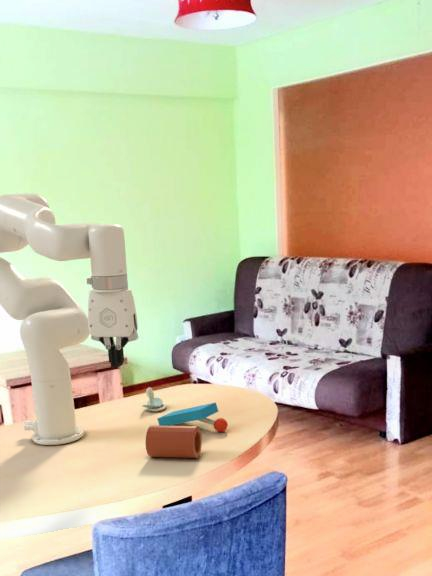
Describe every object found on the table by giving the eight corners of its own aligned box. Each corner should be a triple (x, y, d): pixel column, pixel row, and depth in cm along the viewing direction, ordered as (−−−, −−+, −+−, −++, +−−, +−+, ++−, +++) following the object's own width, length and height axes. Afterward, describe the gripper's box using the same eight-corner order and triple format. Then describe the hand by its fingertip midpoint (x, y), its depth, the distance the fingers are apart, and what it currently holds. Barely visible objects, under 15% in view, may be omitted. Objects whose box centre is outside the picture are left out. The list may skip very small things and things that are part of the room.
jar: (144, 431, 162) (192, 432, 159) (154, 421, 168) (200, 422, 166) (146, 460, 164) (194, 462, 161) (156, 450, 170) (202, 451, 168)
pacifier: (170, 406, 207) (150, 405, 209) (169, 384, 205) (149, 383, 207) (160, 413, 200) (140, 412, 202) (159, 391, 198) (138, 390, 200)
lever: (165, 444, 188) (220, 434, 177) (157, 418, 187) (212, 407, 177) (180, 436, 194) (235, 426, 183) (173, 411, 193) (227, 399, 182)
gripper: (70, 285, 157) (79, 369, 162) (136, 285, 153) (142, 371, 159) (85, 281, 164) (92, 361, 169) (148, 280, 160) (154, 363, 166)
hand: (116, 366), depth 164 cm, fingers closed
